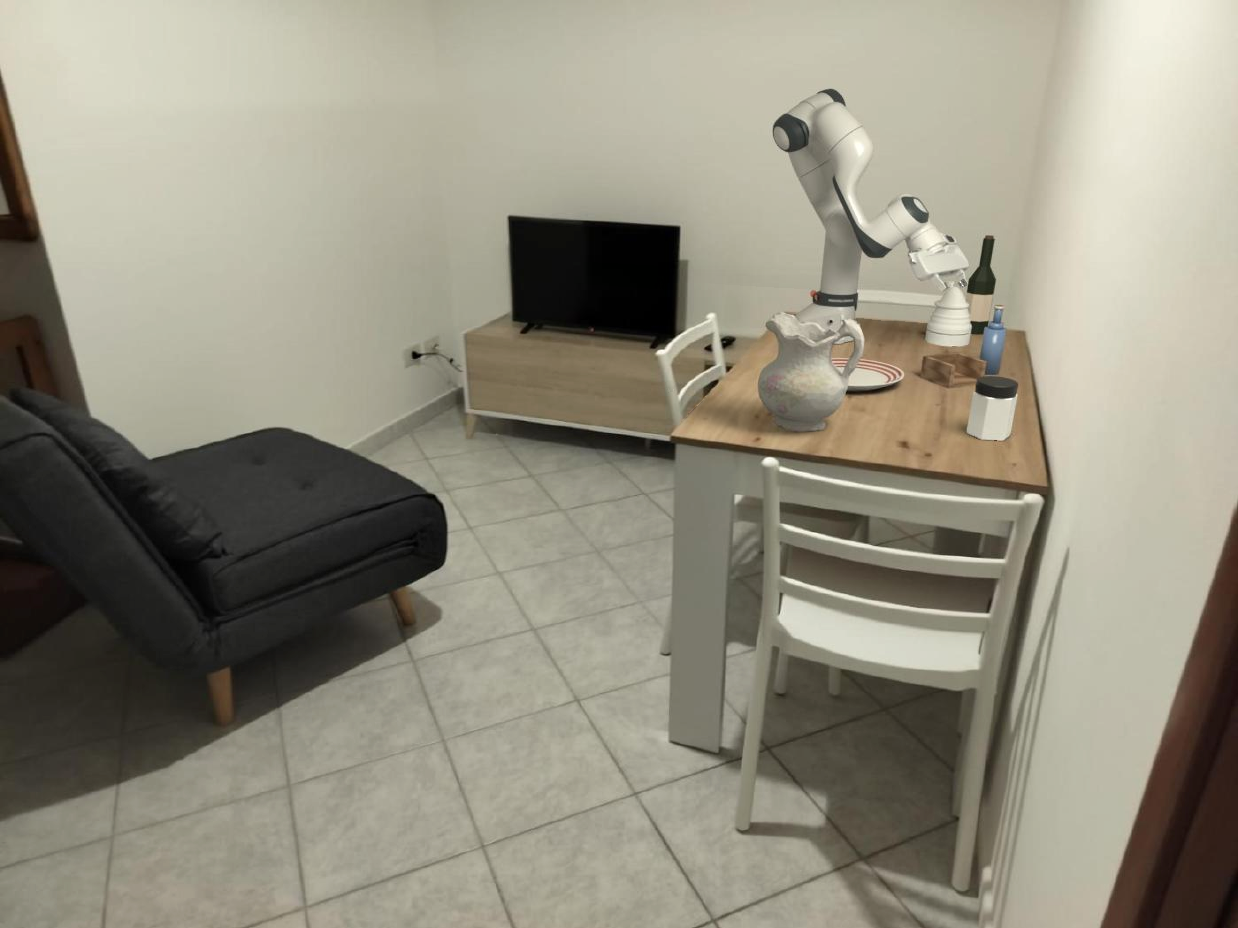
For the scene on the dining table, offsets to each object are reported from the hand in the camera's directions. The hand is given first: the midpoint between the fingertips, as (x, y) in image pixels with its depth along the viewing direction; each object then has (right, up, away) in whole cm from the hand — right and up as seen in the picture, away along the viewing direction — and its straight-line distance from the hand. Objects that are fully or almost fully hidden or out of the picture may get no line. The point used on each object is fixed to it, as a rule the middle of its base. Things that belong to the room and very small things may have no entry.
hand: (955, 288), depth 225 cm
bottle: (+9, -23, 0) cm, 24 cm away
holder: (-4, -26, -7) cm, 27 cm away
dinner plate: (-31, -26, -7) cm, 41 cm away
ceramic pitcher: (-49, -39, -38) cm, 74 cm away
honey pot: (+10, -10, +32) cm, 35 cm away
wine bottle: (+24, -5, +43) cm, 50 cm away
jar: (-11, -41, -44) cm, 62 cm away
